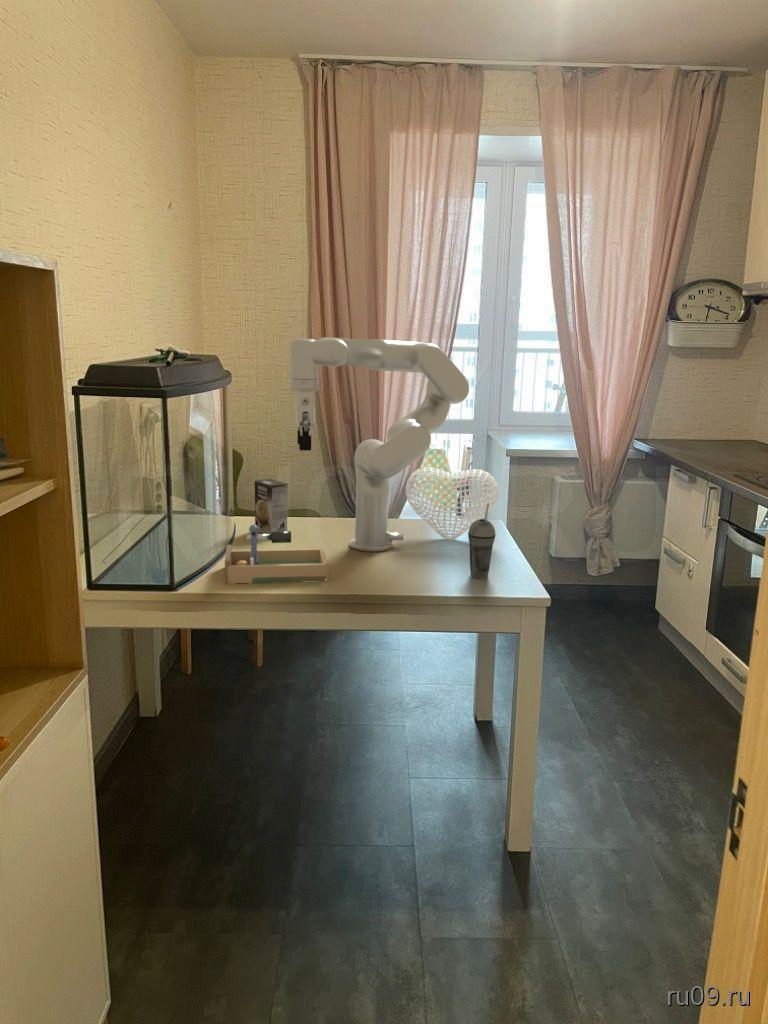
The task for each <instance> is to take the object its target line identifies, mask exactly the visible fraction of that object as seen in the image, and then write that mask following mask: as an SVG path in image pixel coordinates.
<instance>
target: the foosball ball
mask: <svg viewBox="0 0 768 1024" xmlns="http://www.w3.org/2000/svg"><path fill="white" fill-rule="evenodd" d="M236 565H249V564H248V563H247V562H246V561H244V560H241V561H238V562H237V563H236Z"/></svg>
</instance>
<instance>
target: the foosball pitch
mask: <svg viewBox="0 0 768 1024" xmlns="http://www.w3.org/2000/svg"><path fill="white" fill-rule="evenodd" d="M250 554H251V549H235V550H234V549H232V544H227V545H226V550H225V558H224V581H225V582H224V583H225V585H237V584H236V583H248V584H272V583H271V582H286V583H303V582H302V581H324V582H326V580H325V579H327V580H328V560H327V556H326V552H325V549H322V547H321V548H284V549H283V548H281V549H279V548H277V549H257V554H258V565H254V558H250ZM241 560H244V561H246V562H247V563H248V564H249V565H236V563H237V562H238V561H241ZM250 562H251V565H250Z"/></svg>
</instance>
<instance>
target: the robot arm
mask: <svg viewBox="0 0 768 1024" xmlns="http://www.w3.org/2000/svg"><path fill="white" fill-rule="evenodd" d="M289 350H290V372H289V373H290V376H289V377H290V391H292V392H294V411H295V413H294V414H295V421H296V425H297V428H298V429H297V444H298V445H299V446H298V447H299V448H298V449H299V451H311V450H312V433H311V427H312V429H314V428H315V427H316V397H315V396H316V395H315V394H316V393H315V392H318V391H319V366H322V367H323V366H325V367H330V368H337V367H341V366H351V367H359V368H365V369H368V370H373V371H381V372H382V371H383V372H402V373H403V372H404V373H419V374H420V373H421V374H423V375H424V376H425V377H426V379H427V383H426V389H425V390H426V393H425V397H424V399H423V401H422V402H421V404H419V405H418V406H416V408H415V409H414V410H412V411H411V412H409V413H407V414H406V415H404V416H402V418H400V419H399V420H397V421H396V422H394V423H392V424H391V425H390V426H389V428H388V430H387V433H386V439H387V441H386V442H383V441H380V440H379V439H373V438H371V439H370V438H369V439H366V440H363V441H362V442H360V443H359V444H358V446H357V447H356V449H355V452H354V459H353V460H354V470H355V487H356V488H355V489H356V490H355V527H354V528H355V531H354V533H355V535H354V538H352V539H350V540H349V546H350V548H352V549H354V550H356V551H362V552H370V553H371V552H374V553H375V552H382V551H387V550H389V549H391V548H392V547H393V541H404V534H403V533H398V532H390V531H389V529H388V528H389V525H388V524H389V522H388V521H389V499H390V498H389V497H390V496H389V495H390V481H389V479H390V478H392V477H394V476H396V475H398V474H399V473H400V472H402V471H404V470H405V469H406V468H408V467H409V466H411V465H412V464H413V463H415V462H416V461H417V460H419V459H421V458H422V457H423V456H425V454H426V453H427V451H428V450H429V448H430V446H431V443H432V437H431V434H432V433H434V432H435V431H437V430H438V429H439V428H440V427H441V426H442V425H443V424H444V422H445V421H446V420H447V418H448V415H449V411H450V408H451V404H453V405H454V404H455V405H457V404H460V403H462V402H464V401H465V400H466V398H467V397H468V395H469V392H470V384H469V381H468V379H467V377H466V376H465V375H464V374H463V373H462V371H461V370H460V369H459V368H458V367H457V365H456V364H455V363H454V362H453V361H452V360H451V359H450V357H449V356H448V355H447V354H446V352H445V351H444V350H443V349H441V348H440V347H439V345H437V344H434V343H429V342H421V341H409V340H408V341H407V340H405V341H404V340H395V339H393V340H391V339H361V338H360V339H356V338H343V337H342V338H341V337H327V336H326V337H325V336H324V337H321V338H319V339H317V340H316V339H314V338H303V337H302V338H294V339H292V340H291V341H290V349H289Z"/></svg>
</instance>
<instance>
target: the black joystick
mask: <svg viewBox="0 0 768 1024" xmlns="http://www.w3.org/2000/svg"><path fill="white" fill-rule="evenodd" d="M258 530H259V529H258V526H256V525H255V524H252V525H249V527H248V531H249V533H250V534H246V535H245V540H246V541H247V542H250V545H251V546H250V550H251V554H250V558H254V565H258V554H257V550H258V548H257V547H258V543H257V541H259V542H260V541H271V544H287V543H289V544H291V543H292V531H291V530H287V531H271V534H262V533H259V532H258ZM257 533H259V534H257ZM250 565H251V562H250Z"/></svg>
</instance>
